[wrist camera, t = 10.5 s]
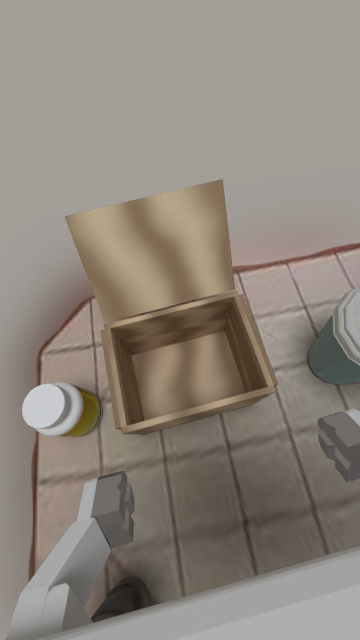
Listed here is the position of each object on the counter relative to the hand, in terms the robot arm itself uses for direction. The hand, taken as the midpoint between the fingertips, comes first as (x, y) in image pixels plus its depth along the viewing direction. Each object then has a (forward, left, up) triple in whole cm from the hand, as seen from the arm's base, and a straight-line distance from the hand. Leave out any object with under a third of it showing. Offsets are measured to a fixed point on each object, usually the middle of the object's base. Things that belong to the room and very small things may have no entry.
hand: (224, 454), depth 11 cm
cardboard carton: (0, -9, -29) cm, 30 cm away
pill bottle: (+16, -8, -29) cm, 34 cm away
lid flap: (0, -19, -12) cm, 22 cm away
